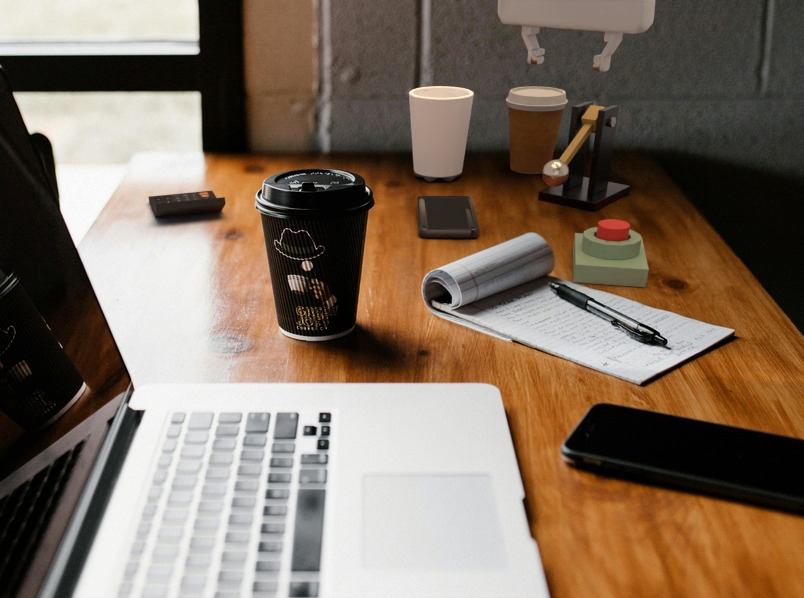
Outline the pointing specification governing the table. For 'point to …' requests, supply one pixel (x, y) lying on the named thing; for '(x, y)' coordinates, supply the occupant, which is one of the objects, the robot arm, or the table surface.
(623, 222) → the button
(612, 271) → the button block
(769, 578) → the table surface
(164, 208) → the calculator
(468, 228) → the phone
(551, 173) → the switch lever
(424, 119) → the cup
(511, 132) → the disposable coffee cup
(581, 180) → the switch bracket
